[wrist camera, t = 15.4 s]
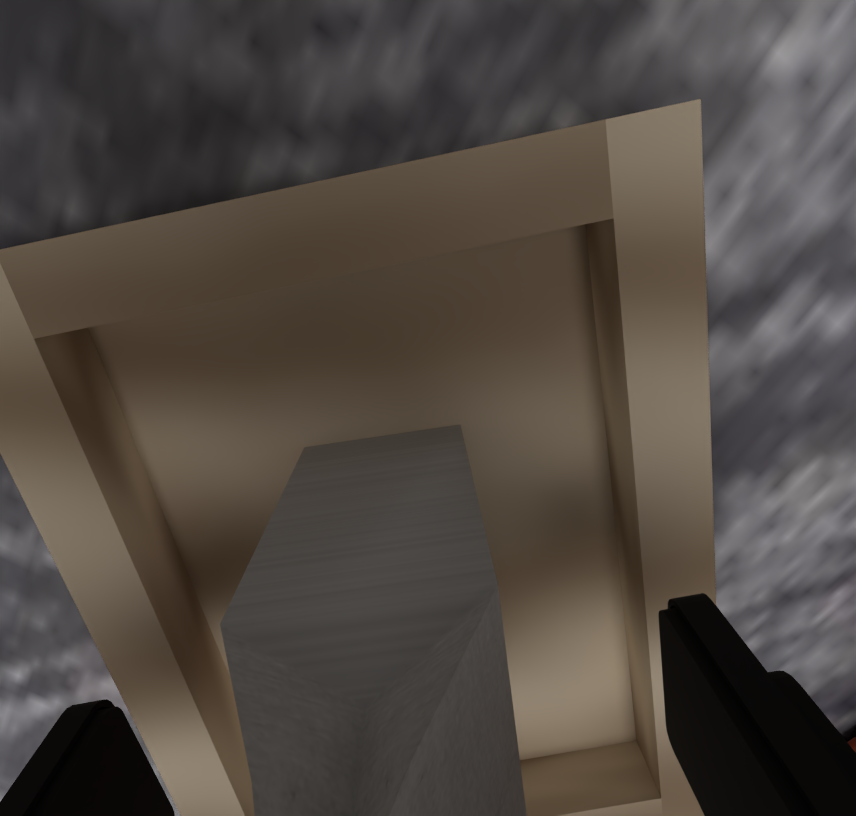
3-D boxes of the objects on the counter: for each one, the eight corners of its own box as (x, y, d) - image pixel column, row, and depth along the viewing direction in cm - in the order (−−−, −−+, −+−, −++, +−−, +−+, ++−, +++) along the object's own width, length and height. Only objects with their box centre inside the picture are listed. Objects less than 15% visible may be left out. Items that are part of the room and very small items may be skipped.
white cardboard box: (460, 424, 13) (599, 1020, 3) (491, 653, 15) (628, 1407, 5) (304, 447, 13) (-4, 1092, 3) (357, 672, 15) (265, 1443, 6)
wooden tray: (7, 259, 12) (-92, 268, 10) (641, 123, 11) (700, 98, 9) (252, 818, 18) (227, 909, 15) (680, 746, 17) (722, 829, 15)
